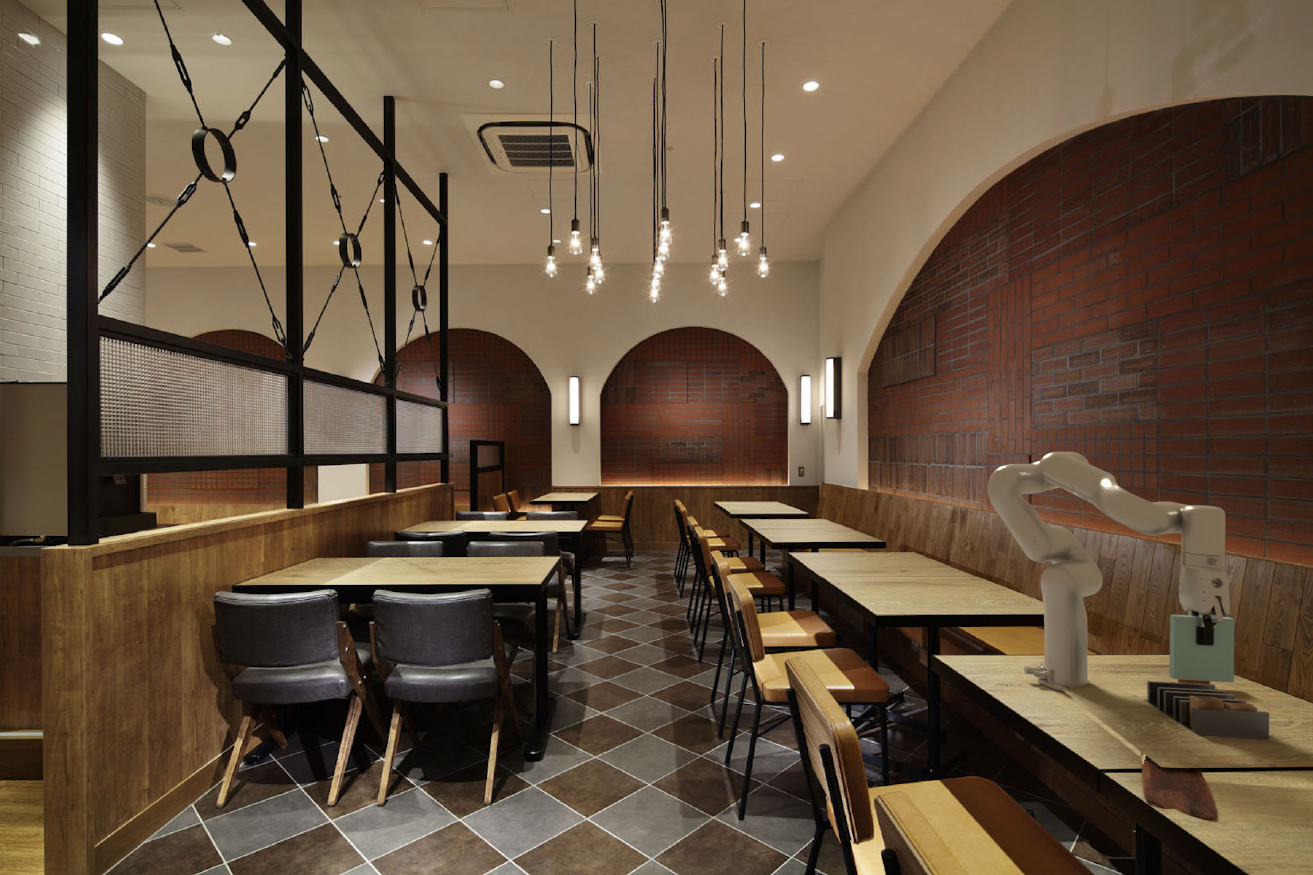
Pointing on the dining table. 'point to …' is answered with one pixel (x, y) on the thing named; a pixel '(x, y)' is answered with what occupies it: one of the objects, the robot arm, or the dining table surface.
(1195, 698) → the tall walnut offcut
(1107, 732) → the dining table surface
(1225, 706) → the short walnut offcut
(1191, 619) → the teal sheet
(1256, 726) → the rack
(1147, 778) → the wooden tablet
